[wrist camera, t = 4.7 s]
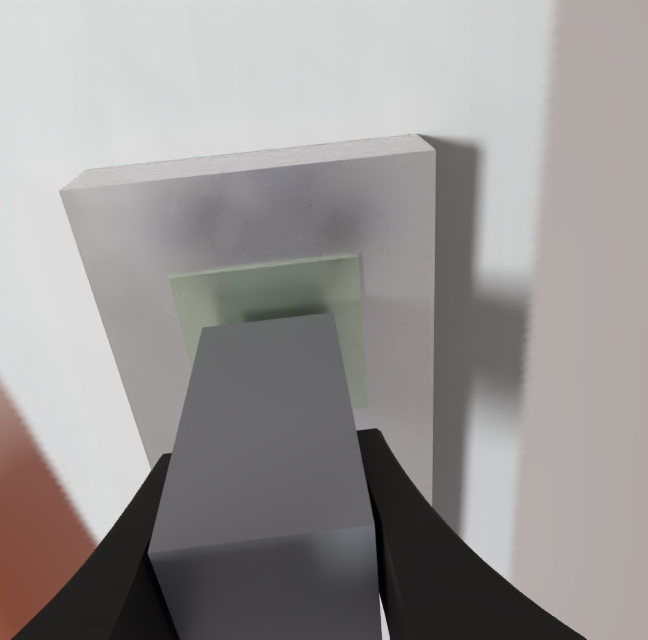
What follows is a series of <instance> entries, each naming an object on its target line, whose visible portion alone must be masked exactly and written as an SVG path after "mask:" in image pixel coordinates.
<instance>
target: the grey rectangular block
mask: <svg viewBox="0 0 648 640" xmlns="http://www.w3.org/2000/svg"><path fill="white" fill-rule="evenodd" d="M148 555H149V558H150V561H151V563H152V566H153V569H154V571H155V574H156V577H157V579H158V582H159V585H160V587H161V590H162V593H163V595H164V598H165V601H166V603H167V606H168V609H169V611H170V614H171V617H172V620H173V622H174V625H175V628H176V630H177V633H178V636H179V638H180V640H382V631H381V616H380V600H379V585H378V569H377V554H376V539H375V524H374V519H373V514H372V509H371V504H370V498H369V493H368V488H367V483H366V478H365V473H364V468H363V462H362V457H361V452H360V447H359V442H358V437H357V431H356V426H355V421H354V416H353V411H352V406H351V401H350V395H349V390H348V385H347V380H346V375H345V370H344V364H343V359H342V354H341V349H340V344H339V339H338V334H337V328H336V323H335V318H334V313H333V312H332V313H323V314H315V315H306V316H298V317H289V318H280V319H272V320H263V321H254V322H246V323H237V324H228V325H220V326H211V327H203V328H202V331H201V335H200V339H199V344H198V348H197V352H196V356H195V360H194V364H193V368H192V372H191V377H190V381H189V385H188V389H187V393H186V397H185V401H184V405H183V410H182V414H181V418H180V422H179V426H178V430H177V434H176V438H175V443H174V447H173V451H172V455H171V459H170V463H169V467H168V471H167V476H166V480H165V484H164V488H163V492H162V496H161V500H160V504H159V509H158V513H157V517H156V521H155V525H154V529H153V533H152V537H151V542H150V546H149V550H148Z"/></svg>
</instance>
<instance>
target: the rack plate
mask: <svg viewBox="0 0 648 640" xmlns="http://www.w3.org/2000/svg"><path fill="white" fill-rule="evenodd" d="M59 192H60V195H61V198H62V201H63V205H64V208H65V211H66V214H67V217H68V220H69V223H70V226H71V229H72V232H73V235H74V238H75V241H76V244H77V247H78V250H79V253H80V256H81V259H82V262H83V265H84V268H85V271H86V274H87V277H88V280H89V283H90V286H91V289H92V292H93V295H94V298H95V301H96V304H97V307H98V310H99V313H100V316H101V319H102V322H103V325H104V328H105V331H106V334H107V337H108V340H109V343H110V346H111V349H112V352H113V355H114V358H115V361H116V364H117V367H118V370H119V374H120V377H121V380H122V383H123V386H124V389H125V392H126V395H127V398H128V401H129V404H130V407H131V410H132V413H133V416H134V419H135V422H136V425H137V428H138V431H139V434H140V437H141V440H142V443H143V446H144V449H145V452H146V455H147V458H148V461H149V464H150V467H151V470H152V469H153V467H154V466H155V464H156V463H157V461H158V460H159V458H160V457H161V456H162V455H163V454H166V453H172V451H173V447H174V443H175V438H176V434H177V430H178V426H179V422H180V418H181V414H182V410H183V405H184V401H185V397H186V393H187V389H188V385H189V381H190V377H191V372H192V368H193V364H194V360H195V356H196V352H197V348H198V344H199V339H200V335H201V331H202V328H203V327H211V326H220V325H228V324H237V323H246V322H254V321H263V320H272V319H280V318H289V317H298V316H306V315H315V314H323V313H332V312H333V313H334V318H335V323H336V328H337V334H338V339H339V344H340V349H341V354H342V359H343V364H344V370H345V375H346V380H347V385H348V390H349V395H350V401H351V406H352V411H353V416H354V421H355V426H356V430H364V429H373V428H377V429H379V430H380V431H381V432H382V434H383V436H384V438H385V440H386V442H387V444H388V446H389V447H390V449H391V451H392V452H393V454H394V456H395V457H396V459H397V460H398V462H399V463H400V465H401V466H402V468H403V469H404V471H405V472H406V474H407V475H408V476H409V478H410V479H411V481H412V482H413V483H414V485H415V486H416V487H417V489H418V490H419V491H420V493H421V494H422V495H423V496H424V498H425V499H426V500H427V501H428V503H429V504H430V505H431V506H432V483H433V389H434V294H435V199H436V149H434V148H433V147H432V146H431V145H430V144H428V143H427V142H426V141H425V140H423V139H422V138H421V137H420V136H418V135H417V134H414V135H404V136H395V137H386V138H377V139H367V140H358V141H349V142H340V143H331V144H321V145H312V146H303V147H294V148H284V149H275V150H266V151H257V152H247V153H238V154H229V155H220V156H210V157H201V158H192V159H183V160H174V161H164V162H155V163H146V164H137V165H127V166H118V167H109V168H100V169H90V170H85V171H84V172H82V173H81V174H80V175H79V176H77V177H76V178H75V179H73V180H72V181H71V182H70V183H68V184H67V185H66V186H65V187H63V188H62V189H61V190H59Z"/></svg>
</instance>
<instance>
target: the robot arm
mask: <svg viewBox="0 0 648 640" xmlns="http://www.w3.org/2000/svg"><path fill="white" fill-rule="evenodd" d="M356 431H357V437H358V442H359V447H360V452H361V457H362V462H363V468H364V473H365V478H366V483H367V488H368V493H369V498H370V504H371V509H372V514H373V519H374V524H375V539H376V554H377V569H378V585H379V594H380V597H381V601H382V605H383V609H384V613H385V617H386V621H387V626H388V631H389V635H390V640H587V639H586V638H584V637H583V636H581V635H580V634H578V633H577V632H575V631H574V630H572V629H571V628H569V627H568V626H567V625H565V624H563V623H562V622H561V621H559V620H558V619H556V618H555V617H554V616H552V615H551V614H549V613H548V612H546V611H545V610H544V609H542V608H541V607H540V606H538V605H537V604H536V603H534V602H533V601H532V600H530V599H529V598H528V597H526V596H525V595H524V594H523V593H521V592H520V591H519V590H517V589H516V588H515V587H514V586H513V585H512V584H510V583H509V582H508V581H507V580H506V579H504V578H503V577H502V576H501V575H500V574H499V573H497V572H496V571H495V570H494V569H493V568H491V567H490V566H489V565H488V564H487V563H486V562H485V561H483V560H482V559H481V558H480V557H479V556H478V555H477V554H476V553H475V552H474V551H473V550H472V549H471V548H470V547H469V546H468V545H467V544H466V543H465V542H464V541H463V540H462V539H461V538H460V537H459V536H458V535H457V534H456V533H455V532H454V531H453V530H452V529H451V528H450V527H449V526H448V525H447V524H446V522H445V521H444V520H443V519H442V518H441V517H440V516H439V514H438V513H437V512H436V511H435V510H434V509H433V507H432V506H431V505H430V504H429V503H428V501H427V500H426V499H425V498H424V496H423V495H422V494H421V493H420V491H419V490H418V489H417V487H416V486H415V485H414V483H413V482H412V481H411V479H410V478H409V476H408V475H407V474H406V472H405V471H404V469H403V468H402V466H401V465H400V463H399V462H398V460H397V459H396V457H395V456H394V454H393V452H392V451H391V449H390V447H389V446H388V444H387V442H386V440H385V438H384V436H383V434H382V432H381V431H380V430H379V429H377V428H373V429H364V430H356ZM171 455H172V453H166V454H163V455H162V456H161V457H160V458H159V460H158V461H157V463H156V464H155V466H154V467H153V469H152V470H151V472H150V474H149V475H148V477H147V478H146V480H145V481H144V483H143V484H142V486H141V487H140V489H139V490H138V492H137V493H136V495H135V496H134V498H133V499H132V501H131V502H130V503H129V505H128V506H127V508H126V509H125V510H124V512H123V513H122V515H121V516H120V517H119V519H118V520H117V522H116V523H115V524H114V526H113V527H112V529H111V530H110V531H109V532H108V534H107V535H106V536H105V538H104V539H103V540H102V541H101V543H100V544H99V545H98V547H97V548H96V549H95V550H94V552H93V553H92V554H91V555H90V557H89V558H88V559H87V560H86V562H85V563H84V564H83V565H82V566H81V567H80V569H79V570H78V571H77V572H76V574H74V576H73V577H72V578H71V579H70V580H69V581H68V582H67V583H66V585H65V586H64V587H63V588H62V589H61V590H60V591H59V592H58V593H57V594H56V596H55V597H54V598H53V599H52V600H51V601H50V602H49V603H48V604H47V605H46V606H45V607H44V608H43V609H42V610H41V611H40V612H39V613H38V614H37V615H36V616H35V617H34V618H33V619H32V620H31V621H30V622H29V623H27V625H26V626H25V627H23V628H22V629H21V630H20V631H19V632H18V633H17V634H16V635H15V636H14V637H13V638H12V639H11V640H180V638H179V636H178V633H177V630H176V628H175V625H174V622H173V620H172V617H171V614H170V611H169V609H168V606H167V603H166V601H165V598H164V595H163V593H162V590H161V587H160V585H159V582H158V579H157V577H156V574H155V571H154V569H153V566H152V563H151V561H150V558H149V555H148V550H149V546H150V542H151V537H152V533H153V529H154V525H155V521H156V517H157V513H158V509H159V504H160V500H161V496H162V492H163V488H164V484H165V480H166V476H167V471H168V467H169V463H170V459H171Z"/></svg>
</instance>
